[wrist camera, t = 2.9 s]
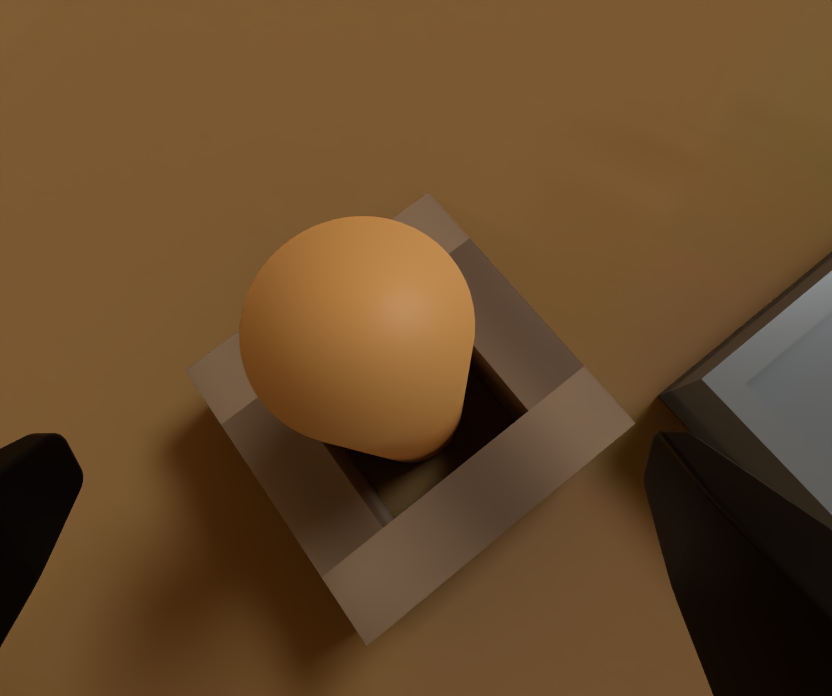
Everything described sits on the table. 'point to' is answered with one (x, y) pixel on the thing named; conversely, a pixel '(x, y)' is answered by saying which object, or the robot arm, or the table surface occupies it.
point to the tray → (772, 394)
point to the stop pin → (361, 337)
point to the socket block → (461, 490)
